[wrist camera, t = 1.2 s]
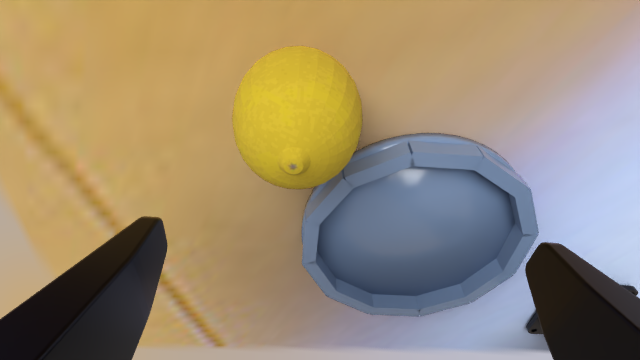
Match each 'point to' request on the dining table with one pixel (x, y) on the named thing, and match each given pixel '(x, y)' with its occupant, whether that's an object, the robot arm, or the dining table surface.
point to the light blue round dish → (417, 225)
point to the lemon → (297, 117)
